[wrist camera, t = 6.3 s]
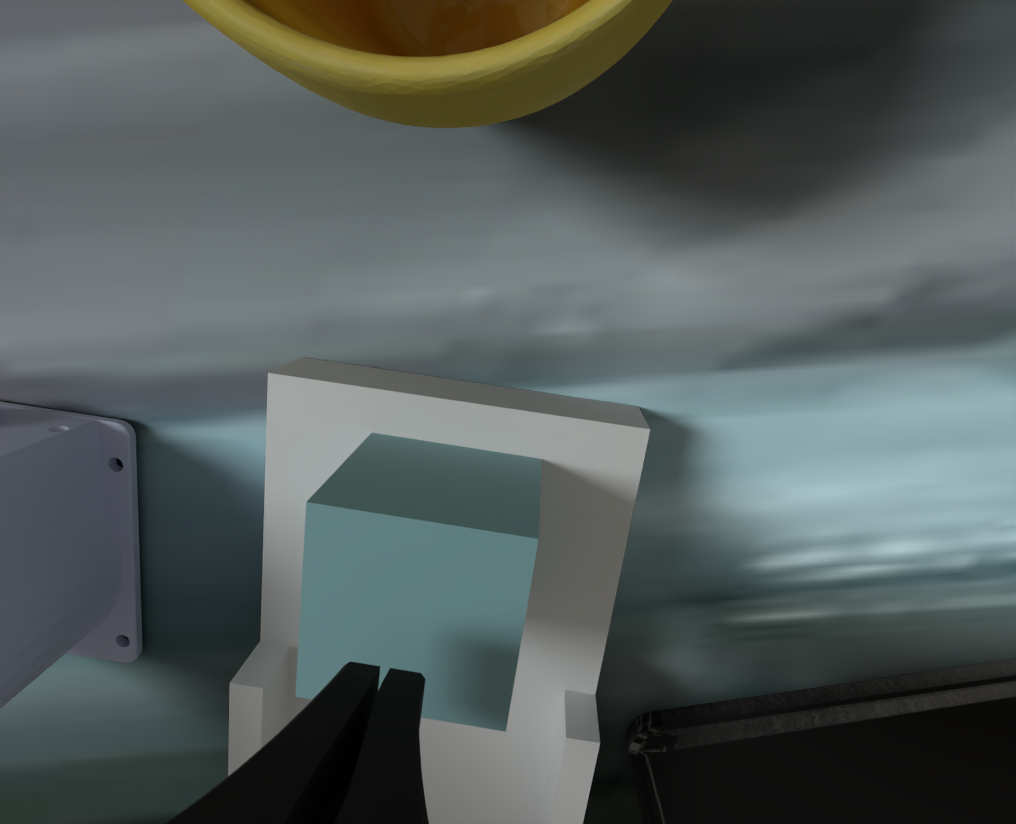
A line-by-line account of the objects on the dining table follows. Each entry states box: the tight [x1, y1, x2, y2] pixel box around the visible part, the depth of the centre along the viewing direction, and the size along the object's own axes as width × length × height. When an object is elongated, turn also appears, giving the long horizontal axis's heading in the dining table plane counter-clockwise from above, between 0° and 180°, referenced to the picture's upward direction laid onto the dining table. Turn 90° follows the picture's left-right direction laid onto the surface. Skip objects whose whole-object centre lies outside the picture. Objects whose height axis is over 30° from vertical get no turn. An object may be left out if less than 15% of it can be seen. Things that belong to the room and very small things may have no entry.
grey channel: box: [228, 357, 650, 824], centre depth 21 cm, size 22×11×4 cm, turn 172°
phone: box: [627, 659, 1016, 824], centre depth 23 cm, size 8×1×15 cm
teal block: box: [296, 433, 542, 732], centre depth 16 cm, size 5×5×5 cm
